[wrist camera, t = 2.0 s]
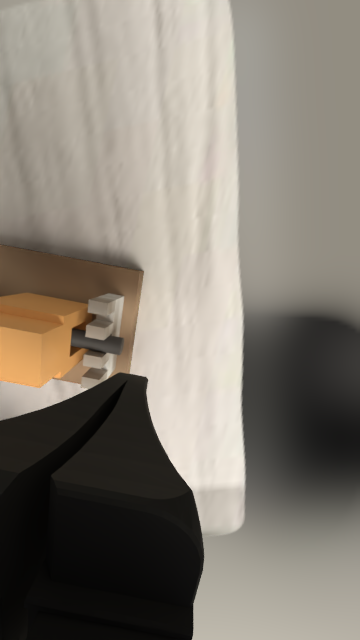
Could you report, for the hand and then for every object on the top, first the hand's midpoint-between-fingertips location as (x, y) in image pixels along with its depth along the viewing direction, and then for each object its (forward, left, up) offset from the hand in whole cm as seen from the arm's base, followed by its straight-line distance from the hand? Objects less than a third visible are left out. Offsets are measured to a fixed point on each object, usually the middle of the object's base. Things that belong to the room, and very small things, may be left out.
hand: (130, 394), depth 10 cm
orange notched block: (0, +7, -7) cm, 10 cm away
